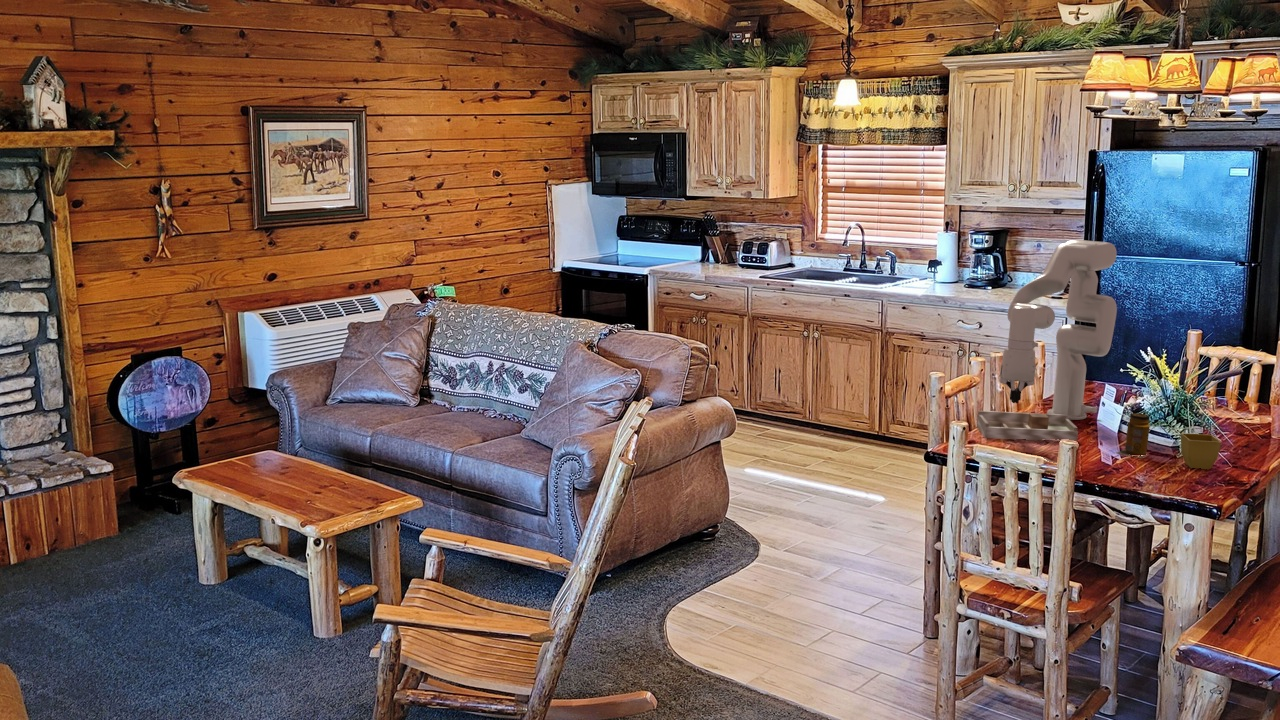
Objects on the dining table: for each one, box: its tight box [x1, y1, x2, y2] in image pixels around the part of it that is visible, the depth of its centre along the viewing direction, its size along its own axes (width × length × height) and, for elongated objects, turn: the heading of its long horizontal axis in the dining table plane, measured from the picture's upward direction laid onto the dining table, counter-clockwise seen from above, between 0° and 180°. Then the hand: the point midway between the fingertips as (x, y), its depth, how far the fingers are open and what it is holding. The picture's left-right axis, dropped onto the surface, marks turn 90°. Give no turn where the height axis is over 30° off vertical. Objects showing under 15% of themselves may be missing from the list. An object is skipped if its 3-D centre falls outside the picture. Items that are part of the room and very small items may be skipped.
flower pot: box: [1180, 432, 1222, 470], centre depth 326 cm, size 9×9×9 cm
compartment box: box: [976, 410, 1079, 443], centre depth 358 cm, size 28×14×6 cm, turn 84°
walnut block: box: [1028, 412, 1049, 429], centre depth 358 cm, size 5×5×4 cm
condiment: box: [1116, 412, 1151, 459], centre depth 338 cm, size 7×8×12 cm
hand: (1014, 402), depth 357 cm, fingers closed
